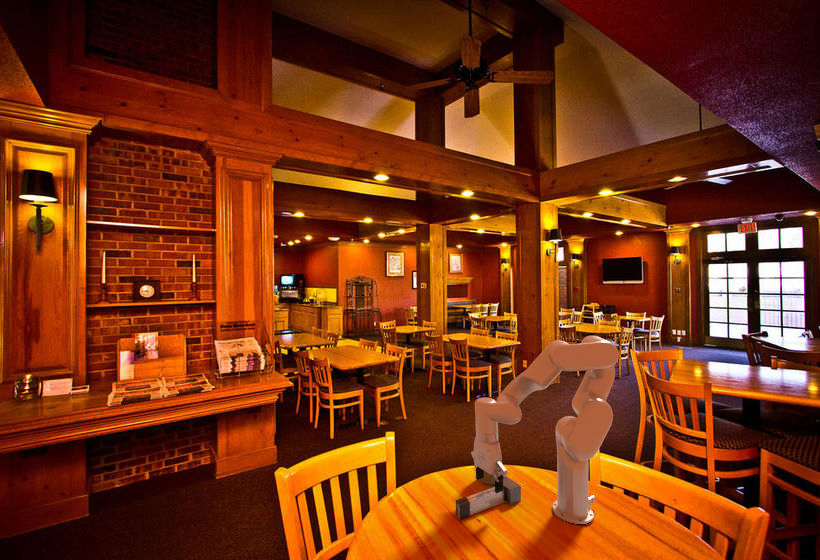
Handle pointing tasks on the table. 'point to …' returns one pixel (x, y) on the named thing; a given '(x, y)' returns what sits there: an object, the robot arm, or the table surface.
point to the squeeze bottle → (488, 478)
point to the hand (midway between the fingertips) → (489, 485)
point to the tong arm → (479, 503)
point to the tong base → (510, 493)
